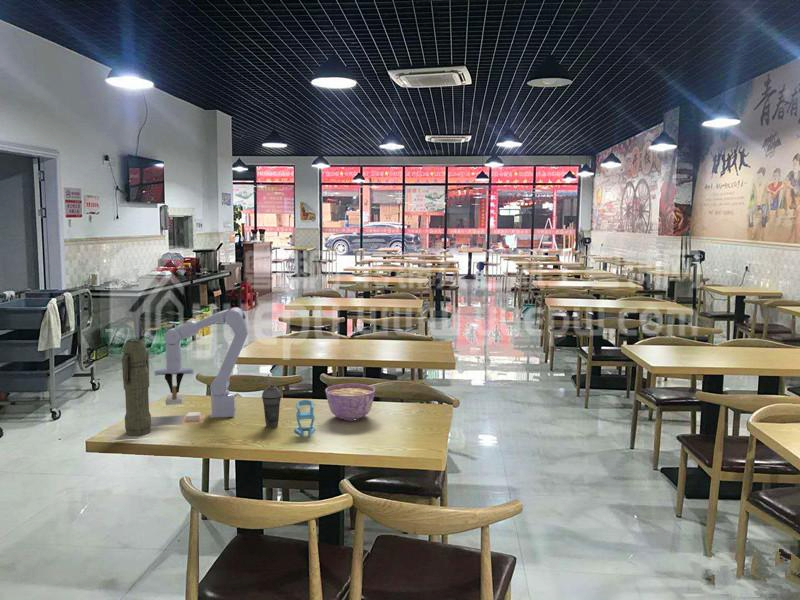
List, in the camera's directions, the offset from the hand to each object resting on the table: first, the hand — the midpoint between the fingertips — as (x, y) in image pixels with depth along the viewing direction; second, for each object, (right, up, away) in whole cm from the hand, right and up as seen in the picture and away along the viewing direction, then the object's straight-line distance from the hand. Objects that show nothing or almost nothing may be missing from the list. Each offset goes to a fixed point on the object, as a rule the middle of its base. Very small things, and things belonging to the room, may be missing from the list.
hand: (174, 392), depth 261 cm
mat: (+2, -11, -5) cm, 12 cm away
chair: (+55, -13, -18) cm, 59 cm away
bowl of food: (+70, -11, +1) cm, 71 cm away
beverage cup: (+41, -12, -10) cm, 44 cm away
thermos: (-6, -13, -20) cm, 25 cm away
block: (+9, -10, -4) cm, 14 cm away
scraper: (0, -4, 0) cm, 4 cm away
